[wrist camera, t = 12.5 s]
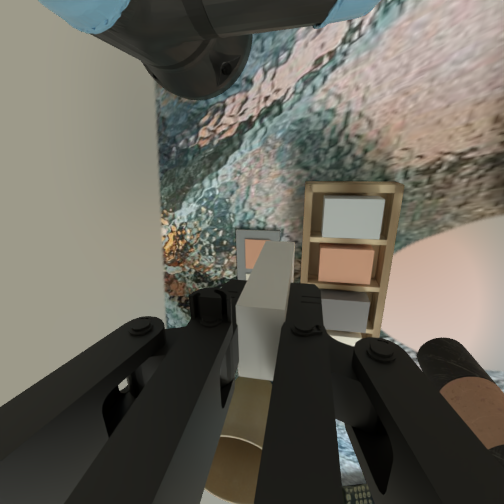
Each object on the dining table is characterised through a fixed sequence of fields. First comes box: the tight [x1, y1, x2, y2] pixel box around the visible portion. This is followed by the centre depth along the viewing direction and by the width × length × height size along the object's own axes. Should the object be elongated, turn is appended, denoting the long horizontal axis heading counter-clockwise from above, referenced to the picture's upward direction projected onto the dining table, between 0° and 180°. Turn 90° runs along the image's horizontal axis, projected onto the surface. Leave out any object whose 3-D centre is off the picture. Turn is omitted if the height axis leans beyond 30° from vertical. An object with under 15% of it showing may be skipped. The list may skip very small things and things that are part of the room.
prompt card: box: [236, 229, 280, 280], centre depth 46 cm, size 7×14×1 cm, turn 1°
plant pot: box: [204, 376, 272, 504], centre depth 48 cm, size 15×15×16 cm
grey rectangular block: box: [320, 289, 370, 333], centre depth 41 cm, size 7×5×3 cm
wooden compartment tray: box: [300, 181, 405, 338], centre depth 42 cm, size 12×29×4 cm, turn 1°
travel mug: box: [417, 338, 504, 468], centre depth 36 cm, size 8×8×20 cm
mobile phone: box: [342, 483, 375, 504], centre depth 58 cm, size 5×3×15 cm
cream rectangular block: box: [326, 329, 362, 346], centre depth 45 cm, size 7×5×3 cm
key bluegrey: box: [321, 195, 385, 239], centre depth 36 cm, size 7×5×3 cm
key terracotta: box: [318, 242, 375, 284], centre depth 40 cm, size 7×5×3 cm
